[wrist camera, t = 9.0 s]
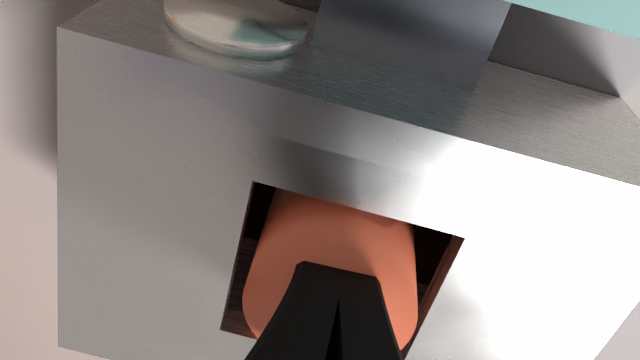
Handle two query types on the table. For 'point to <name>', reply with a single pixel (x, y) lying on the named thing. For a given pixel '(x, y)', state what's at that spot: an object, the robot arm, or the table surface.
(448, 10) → the rail
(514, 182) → the block with square hole
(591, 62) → the table surface
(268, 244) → the push button
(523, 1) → the block
